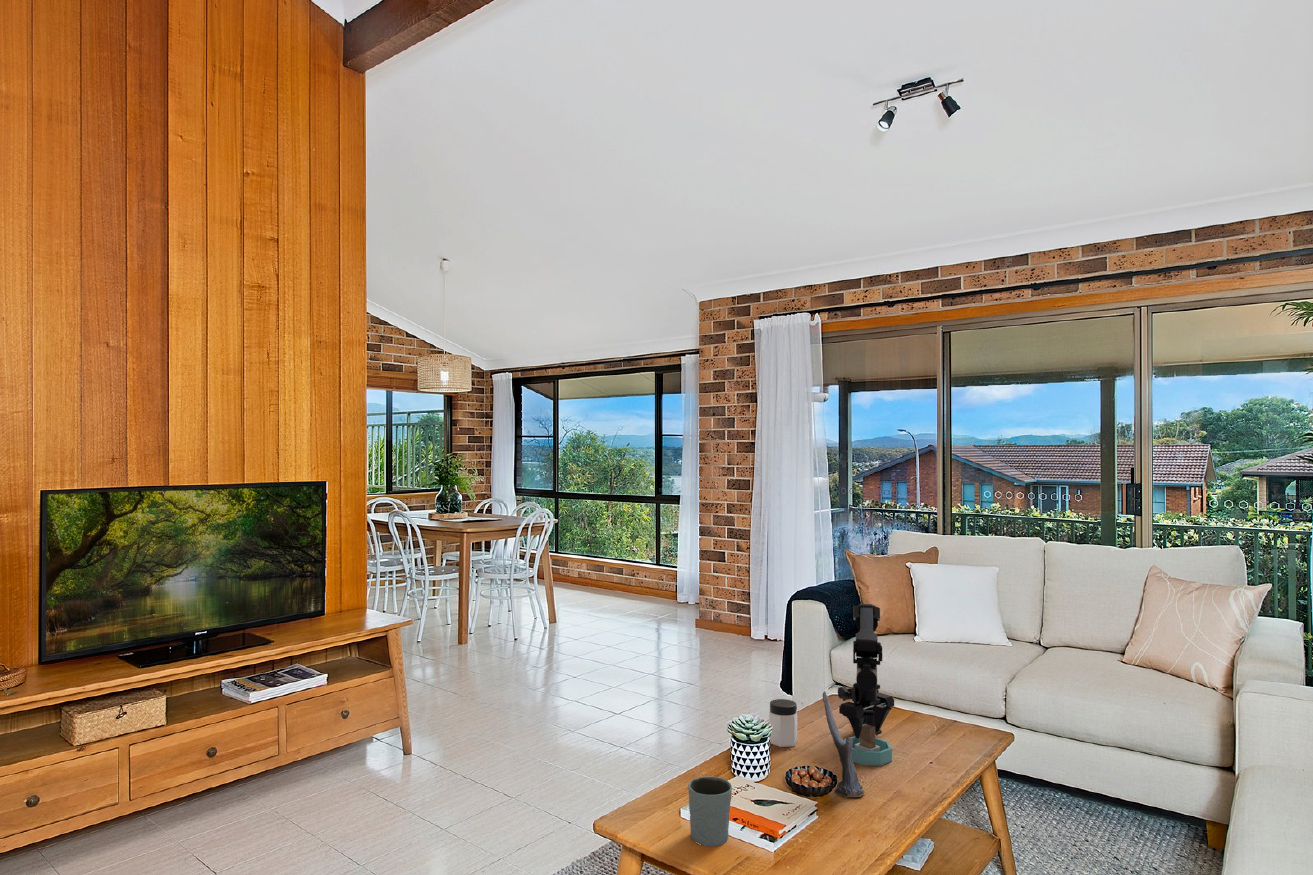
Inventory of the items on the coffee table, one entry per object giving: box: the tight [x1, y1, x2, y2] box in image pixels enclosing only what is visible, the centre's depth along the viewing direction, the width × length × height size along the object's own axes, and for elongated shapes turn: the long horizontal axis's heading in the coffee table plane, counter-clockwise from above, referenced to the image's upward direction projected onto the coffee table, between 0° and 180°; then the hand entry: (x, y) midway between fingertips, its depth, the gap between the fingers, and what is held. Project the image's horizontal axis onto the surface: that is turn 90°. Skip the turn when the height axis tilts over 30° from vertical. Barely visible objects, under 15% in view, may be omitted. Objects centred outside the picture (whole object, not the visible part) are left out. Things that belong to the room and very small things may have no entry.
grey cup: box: [687, 775, 733, 847], centre depth 180 cm, size 10×10×12 cm
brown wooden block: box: [860, 724, 876, 749], centre depth 229 cm, size 2×4×8 cm, turn 38°
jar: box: [768, 698, 798, 748], centre depth 241 cm, size 9×8×12 cm
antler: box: [822, 691, 866, 799], centre depth 206 cm, size 12×8×25 cm
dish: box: [843, 735, 893, 767], centre depth 229 cm, size 13×13×4 cm
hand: (867, 734), depth 229 cm, fingers open, 9 cm apart
